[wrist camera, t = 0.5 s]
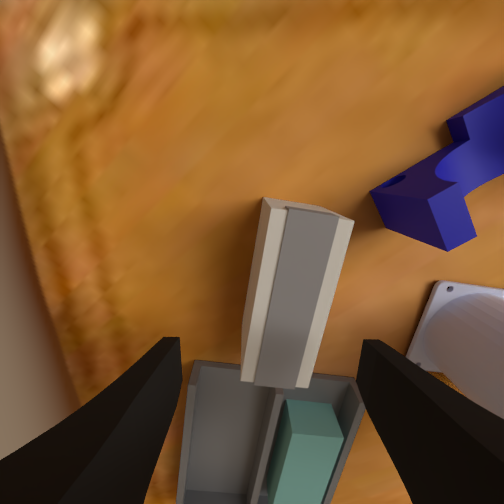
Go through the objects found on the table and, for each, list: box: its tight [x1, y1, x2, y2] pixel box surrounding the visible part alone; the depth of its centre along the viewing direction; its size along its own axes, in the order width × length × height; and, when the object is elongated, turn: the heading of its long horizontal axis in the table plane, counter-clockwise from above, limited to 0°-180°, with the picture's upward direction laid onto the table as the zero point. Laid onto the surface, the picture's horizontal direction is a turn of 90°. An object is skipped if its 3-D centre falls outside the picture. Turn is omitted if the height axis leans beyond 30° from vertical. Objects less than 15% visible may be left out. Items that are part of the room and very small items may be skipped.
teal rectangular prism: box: [267, 399, 344, 504], centre depth 22 cm, size 4×10×3 cm, turn 171°
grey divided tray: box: [176, 360, 366, 504], centre depth 22 cm, size 14×16×3 cm
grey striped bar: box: [240, 197, 355, 390], centre depth 16 cm, size 4×10×6 cm, turn 171°
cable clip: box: [369, 86, 504, 252], centre depth 14 cm, size 12×4×6 cm, turn 121°
